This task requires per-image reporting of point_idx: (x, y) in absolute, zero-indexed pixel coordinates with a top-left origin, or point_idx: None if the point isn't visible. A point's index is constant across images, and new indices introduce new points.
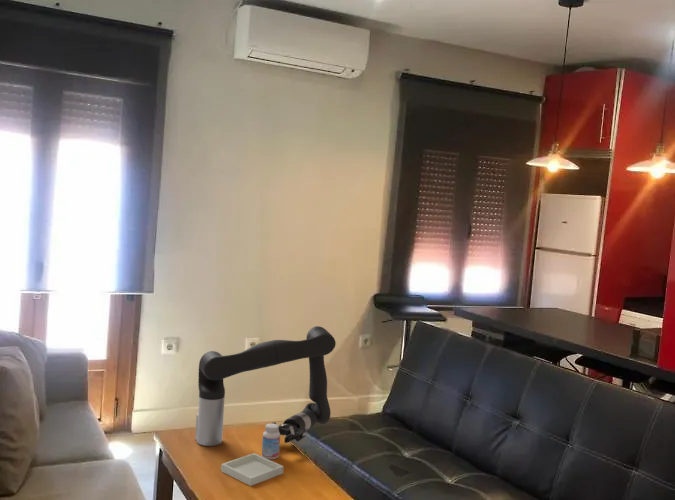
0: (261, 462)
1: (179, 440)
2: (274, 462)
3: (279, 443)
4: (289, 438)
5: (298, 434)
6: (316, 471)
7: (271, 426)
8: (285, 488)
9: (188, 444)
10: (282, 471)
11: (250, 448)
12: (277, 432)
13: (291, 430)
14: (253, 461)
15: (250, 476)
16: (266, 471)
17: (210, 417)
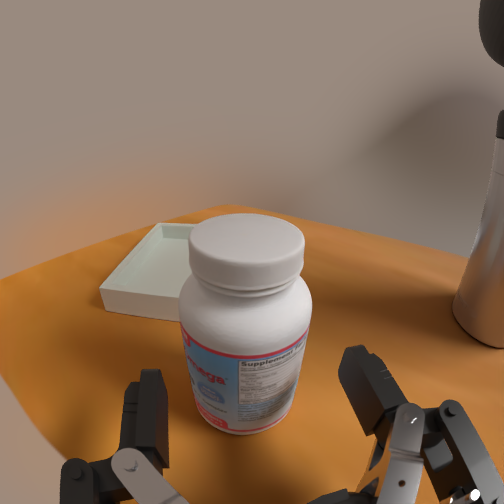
0: None
1: None
2: (142, 292)
3: (187, 360)
4: (127, 392)
5: (71, 466)
6: (3, 370)
7: (238, 225)
8: (77, 264)
9: None
10: (105, 301)
11: None
12: (197, 288)
13: (174, 500)
14: None
15: (180, 249)
16: (138, 249)
17: (484, 205)
